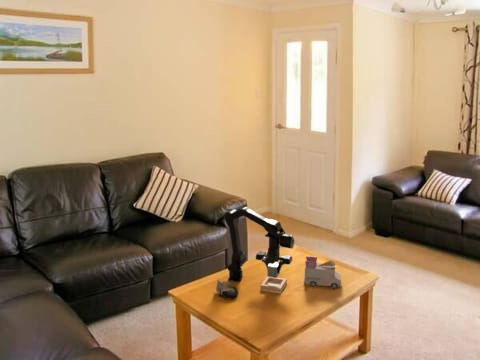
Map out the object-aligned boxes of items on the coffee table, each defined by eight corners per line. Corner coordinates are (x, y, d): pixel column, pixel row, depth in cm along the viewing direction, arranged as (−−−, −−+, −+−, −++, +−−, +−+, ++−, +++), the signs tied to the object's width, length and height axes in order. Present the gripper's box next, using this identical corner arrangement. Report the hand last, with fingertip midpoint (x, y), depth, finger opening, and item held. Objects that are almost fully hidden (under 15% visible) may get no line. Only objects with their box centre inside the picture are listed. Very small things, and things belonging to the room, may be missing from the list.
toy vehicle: (340, 290, 246) (342, 264, 243) (303, 287, 250) (304, 261, 246) (340, 283, 255) (341, 257, 251) (304, 280, 259) (305, 254, 255)
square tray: (260, 290, 248) (260, 285, 247) (267, 280, 259) (267, 275, 258) (280, 293, 244) (280, 288, 243) (286, 283, 255) (286, 279, 254)
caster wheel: (238, 302, 240) (219, 302, 237) (232, 288, 250) (214, 288, 247) (241, 292, 238) (222, 292, 234) (235, 278, 247) (217, 278, 244)
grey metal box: (267, 276, 248) (267, 265, 246) (270, 271, 253) (271, 261, 252) (276, 277, 246) (276, 267, 244) (279, 273, 251) (279, 263, 250)
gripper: (252, 248, 241) (252, 276, 245) (287, 253, 235) (286, 281, 239) (259, 240, 252) (259, 267, 255) (292, 245, 245) (292, 272, 249)
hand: (273, 272), depth 249 cm, fingers closed on grey metal box, 5 cm apart
